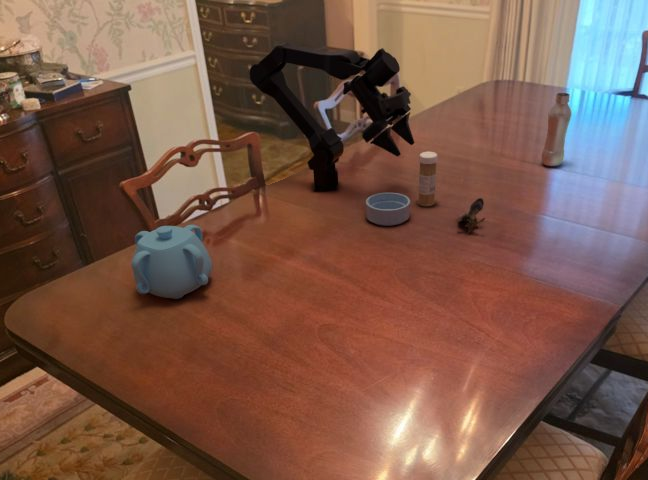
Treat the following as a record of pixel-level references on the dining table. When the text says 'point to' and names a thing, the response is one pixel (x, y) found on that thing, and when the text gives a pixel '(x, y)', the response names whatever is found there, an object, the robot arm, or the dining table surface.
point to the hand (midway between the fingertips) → (406, 149)
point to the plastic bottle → (557, 131)
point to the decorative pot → (170, 261)
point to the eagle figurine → (472, 215)
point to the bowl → (387, 208)
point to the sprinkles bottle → (427, 178)
